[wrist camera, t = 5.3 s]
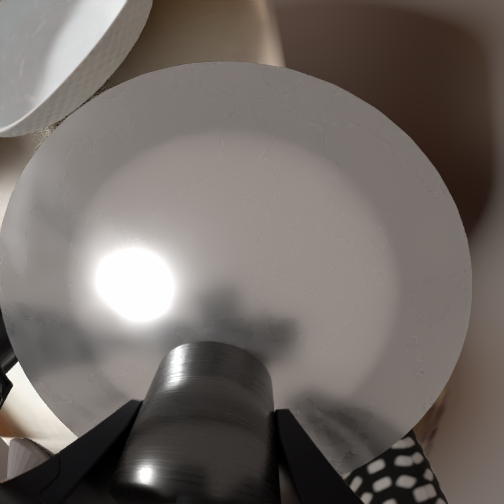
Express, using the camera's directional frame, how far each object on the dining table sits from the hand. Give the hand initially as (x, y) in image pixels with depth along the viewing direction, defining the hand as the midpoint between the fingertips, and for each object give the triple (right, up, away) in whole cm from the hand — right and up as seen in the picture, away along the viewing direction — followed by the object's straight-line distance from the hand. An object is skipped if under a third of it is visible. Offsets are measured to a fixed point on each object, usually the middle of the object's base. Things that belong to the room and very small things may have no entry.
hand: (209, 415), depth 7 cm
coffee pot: (-37, -31, +22) cm, 53 cm away
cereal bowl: (-13, +22, +7) cm, 26 cm away
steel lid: (0, +1, +2) cm, 2 cm away
